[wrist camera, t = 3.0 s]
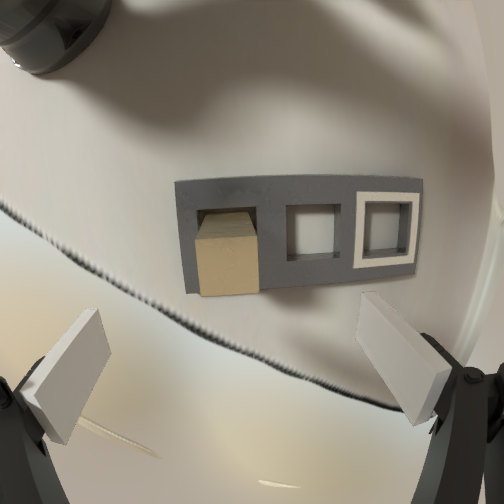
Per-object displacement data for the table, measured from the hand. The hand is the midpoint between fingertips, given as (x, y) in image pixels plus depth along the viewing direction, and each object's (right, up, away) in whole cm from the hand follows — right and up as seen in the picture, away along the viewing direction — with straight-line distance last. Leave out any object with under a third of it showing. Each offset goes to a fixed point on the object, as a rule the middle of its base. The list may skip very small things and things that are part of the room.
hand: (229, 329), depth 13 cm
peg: (-2, +6, +18) cm, 19 cm away
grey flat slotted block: (+7, +6, +19) cm, 21 cm away
